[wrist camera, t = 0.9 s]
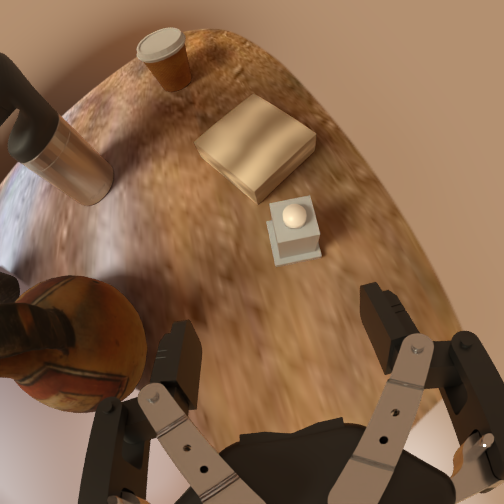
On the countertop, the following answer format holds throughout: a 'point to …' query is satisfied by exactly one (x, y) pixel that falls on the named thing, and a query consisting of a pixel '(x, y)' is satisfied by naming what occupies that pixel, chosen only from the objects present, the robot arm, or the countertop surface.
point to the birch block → (256, 146)
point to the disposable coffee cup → (166, 58)
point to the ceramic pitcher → (72, 343)
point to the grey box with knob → (293, 231)
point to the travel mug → (8, 288)
